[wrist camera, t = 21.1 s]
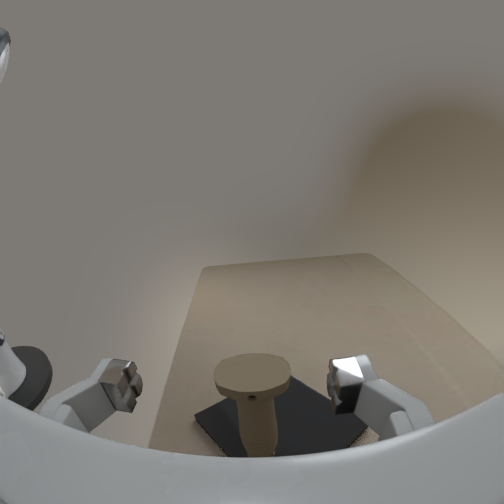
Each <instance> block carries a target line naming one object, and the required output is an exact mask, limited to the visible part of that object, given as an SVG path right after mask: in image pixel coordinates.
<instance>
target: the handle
mask: <svg viewBox="0 0 504 504" xmlns="http://www.w3.org/2000/svg"><path fill="white" fill-rule="evenodd" d="M214 380H215V384H216V388H217V390H218V391H219V393H220V394H221V395H223V396H226V397H228V398H231V399H233V400H236V401H237V407H238V417H239V429H240V436H241V440H242V443H243V445H244V448H245V450H246V451H247V455H248V457H249V458H257V457H274V455H275V452H274V451H275V448H276V445H277V439H278V429H277V422H276V415H275V408H274V400H273V398H274V397H276V396H278V395H280V394H282V393H284V392H285V391H286V390H287V388H288V387H289V384H290V366H289V364H288V362H287V361H286V360H285V359H284V358H283V357H279V356H274V355H270V354H242V355H237V356H234V357H231V358H227V359H224V360H222V361H221V362H219V364H218V365H217V366H216V368H215V371H214Z"/></svg>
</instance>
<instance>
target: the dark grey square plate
mask: <svg viewBox="0 0 504 504" xmlns="http://www.w3.org/2000/svg"><path fill="white" fill-rule="evenodd" d="M273 400H274V408H275V415H276V422H277V429H278V439H277V445H276V448H275V451H274V452H275V455H274V457H281V456H295V455H305V454H314V453H321V452H328V451H335V450H340V449H346V448H348V447H349V446H350V445H351V444H352V443H353V442H354V441H355V440H356V439H357V438H358V436H359V435H360V434H361V433H362V432H363V431H364V430H365V429H366V428H367V427H368V425H367V424H365V423H364V422H363V421H362V420H361V419H360V418H358V417H357V416H356V415H355V414H354V413H349V414H342V415H334V414H333V410H332V407H331V400H330V399H328V398H327V397H325V396H323V395H322V394H320V393H318V392H317V391H315V390H313V389H312V388H310V387H308V386H307V385H305V384H304V383H302V382H301V381H299V380H297V379H296V378H294V377H293V376H291V375H290V384H289V387H288V388H287V390H286V391H285V392H284V393H282V394H280V395H278V396H276V397H274V398H273ZM194 416H195V419H196V420H197V421H198V422H199V424H200V425H201V426H202V427H203V428H204V429H205V431H206V432H207V433H208V434H209V435H210V436H211V437H212V439H213V440H214V441H215V442H216V443H217V444H218V445H219V446H220V447H221V448H222V450H223V451H224V452H225V453H226V454H227V455H228V456H229V457H237V458H249V457H248V455H247V451H246V450H245V448H244V445H243V443H242V440H241V436H240V429H239V417H238V407H237V401H236V400H233V399H231V398H226V399H224V400H222V401H220V402H218V403H217V404H215V405H213V406H211V407H209V408H207V409H205V410H203V411H201V412H199V413H197V414H195V415H194Z"/></svg>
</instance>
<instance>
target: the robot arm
mask: <svg viewBox="0 0 504 504" xmlns="http://www.w3.org/2000/svg"><path fill="white" fill-rule="evenodd" d="M10 41H11V40H10V36H9V33H8V31H6V30H5V29H2V28H0V83H1V81H2V79H3V77H4V74H5V71H6V68H7V65H8V60H9V51H10V49H9V47H10ZM136 370H137V367H136V365H135V363H134V362H132V361H126V360H118V359H111V358H103V359H102V360H101V361H100V363H99V364H98V366H97V367H96V368H95V370H94V371H93V373H92V374H91V376H90V377H89V379H84V380H82V381H80V382H79V383H77V384H75V385H73V386H71V387H69V388H67V389H65V390H63V391H61V392H59V393H57V394H55V395H53V396H51V397H50V398H48V400H47V401H46V402H45V404H44V405H43V407H42V408H41V410H40V411H39V412H38V414H37V413H35V412H32V411H30V410H28V409H26V408H24V407H22V406H20V405H18V404H16V403H14V402H12V401H10V400H9V399H8V397H9V396H10V395H11V394H12V393H14V392H15V391H16V390H17V389H18V388H19V387H20V385H21V384H22V382H23V380H24V378H25V375H26V368H25V365H24V364H23V363H22V362H21V361H20V360H19V359H18V358H17V356H16V355H15V354H14V352H13V351H12V349H11V348H10V346H9V345H8V343H7V341H6V340H5V337H4V334H3V331H2V328H1V326H0V504H504V392H502V393H499V394H497V395H495V396H493V397H491V398H489V399H487V400H486V401H484V402H482V403H480V404H478V405H476V406H474V407H472V408H470V409H468V410H466V411H463V412H461V413H459V414H457V415H455V416H452V417H450V418H448V419H445V420H443V421H440V422H438V423H436V422H435V420H434V419H433V417H432V415H431V413H430V411H429V409H428V407H427V406H426V404H425V402H423V401H421V400H419V399H417V398H415V397H414V396H412V395H410V394H408V393H406V392H405V391H403V390H401V389H399V388H397V387H396V386H394V385H392V384H390V383H389V382H387V381H385V380H383V379H379V378H378V376H377V374H376V372H375V370H374V368H373V366H372V364H371V362H370V360H369V358H368V356H367V355H366V354H362V355H356V356H351V357H344V358H337V359H330V361H329V370H330V372H329V374H328V375H327V390H328V395H329V396H330V397H331V398H332V399H331V407H332V410H333V414H334V415H342V414H349V413H354V414H355V415H356V416H357V417H358V418H360V419H361V420H362V421H363V422H364V423H365V424H367V425H368V426H369V427H370V428H371V429H372V430H374V431H375V432H376V433H377V434H378V435H379V436H380V437H379V439H378V441H377V442H374V443H370V444H366V445H361V446H356V447H351V448H346V449H340V450H335V451H328V452H321V453H314V454H305V455H295V456H281V457H257V458H237V457H213V456H200V455H190V454H181V453H174V452H167V451H160V450H155V449H149V448H143V447H139V446H134V445H130V444H125V443H121V442H117V441H113V440H110V439H105V438H102V437H99V436H95V435H92V434H90V431H92V430H93V429H94V428H95V427H97V426H98V425H99V424H100V423H102V422H103V421H104V420H105V419H107V418H108V417H109V416H111V415H112V414H113V413H114V412H115V411H116V410H117V411H123V412H129V413H132V412H133V409H134V408H135V405H136V403H137V402H136V399H135V398H137V397H138V396H140V394H141V392H142V386H143V384H142V379H141V377H140V375H139V374H138V373H136Z"/></svg>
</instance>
